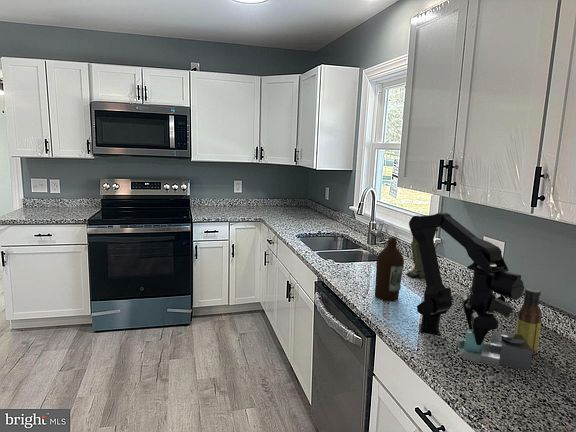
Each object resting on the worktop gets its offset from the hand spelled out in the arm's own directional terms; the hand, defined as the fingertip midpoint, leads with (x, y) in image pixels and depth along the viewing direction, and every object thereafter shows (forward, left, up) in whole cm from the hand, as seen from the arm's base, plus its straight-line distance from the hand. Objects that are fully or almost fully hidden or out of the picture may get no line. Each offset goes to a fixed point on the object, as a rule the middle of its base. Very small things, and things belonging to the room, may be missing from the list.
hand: (474, 337), depth 119 cm
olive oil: (-39, -25, -5) cm, 47 cm away
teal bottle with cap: (0, 0, -5) cm, 5 cm away
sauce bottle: (-7, +16, -5) cm, 19 cm away
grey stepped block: (0, +5, -5) cm, 7 cm away
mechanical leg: (-76, -9, -5) cm, 77 cm away
